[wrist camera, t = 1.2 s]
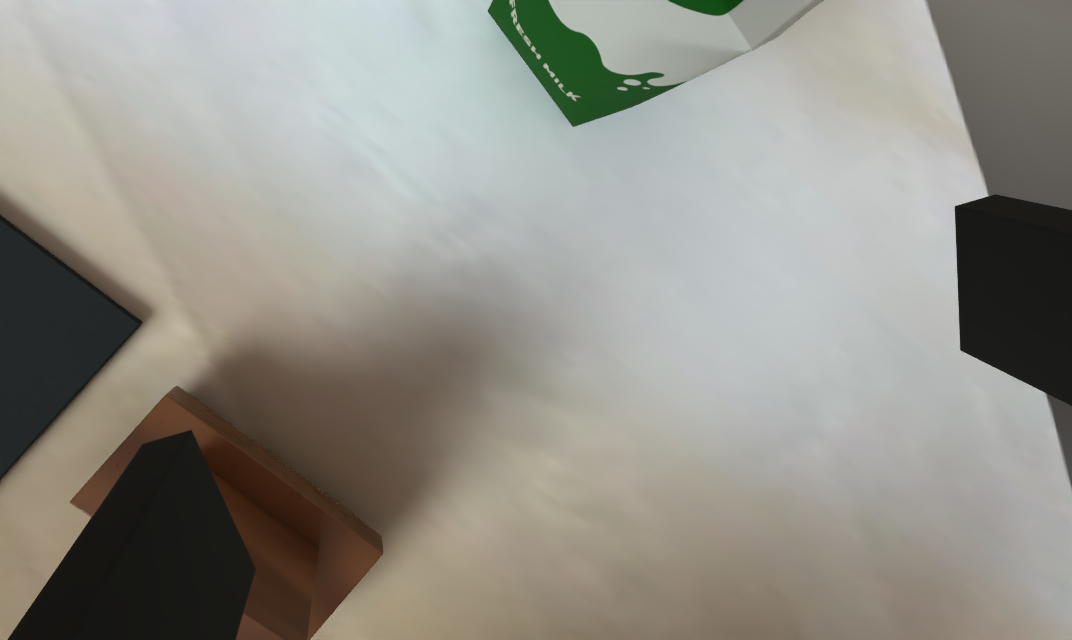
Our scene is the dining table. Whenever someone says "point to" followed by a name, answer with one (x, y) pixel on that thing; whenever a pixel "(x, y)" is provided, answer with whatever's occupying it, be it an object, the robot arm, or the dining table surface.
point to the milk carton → (634, 44)
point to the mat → (47, 339)
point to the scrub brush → (261, 521)
